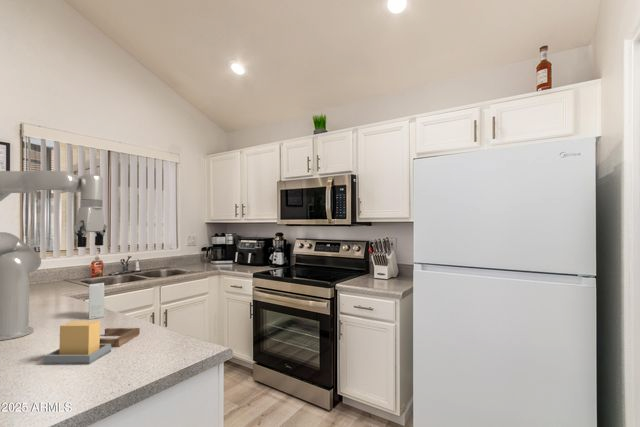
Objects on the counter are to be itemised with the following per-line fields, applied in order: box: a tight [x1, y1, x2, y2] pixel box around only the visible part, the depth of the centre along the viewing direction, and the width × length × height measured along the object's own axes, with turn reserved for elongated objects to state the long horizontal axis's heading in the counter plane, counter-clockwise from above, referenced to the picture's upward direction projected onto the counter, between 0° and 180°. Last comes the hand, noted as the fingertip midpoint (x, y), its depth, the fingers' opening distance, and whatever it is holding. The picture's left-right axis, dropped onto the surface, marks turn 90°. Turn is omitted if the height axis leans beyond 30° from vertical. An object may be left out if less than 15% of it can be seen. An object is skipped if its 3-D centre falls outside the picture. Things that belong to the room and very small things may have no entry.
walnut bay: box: [100, 327, 141, 348], centre depth 116 cm, size 13×12×2 cm
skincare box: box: [88, 282, 105, 320], centre depth 148 cm, size 8×6×15 cm
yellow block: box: [58, 320, 101, 355], centre depth 102 cm, size 10×5×10 cm, turn 90°
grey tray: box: [43, 344, 112, 365], centre depth 101 cm, size 14×10×2 cm
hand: (90, 246), depth 131 cm, fingers open, 9 cm apart
